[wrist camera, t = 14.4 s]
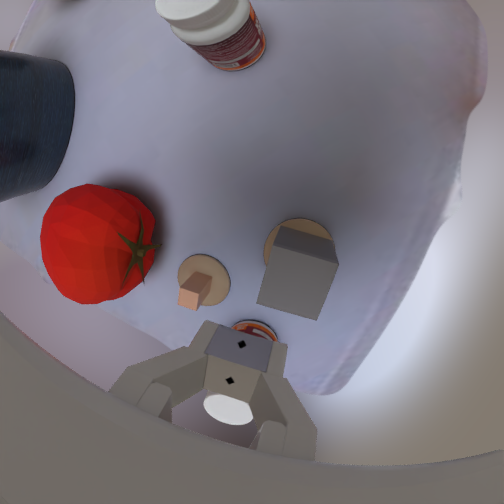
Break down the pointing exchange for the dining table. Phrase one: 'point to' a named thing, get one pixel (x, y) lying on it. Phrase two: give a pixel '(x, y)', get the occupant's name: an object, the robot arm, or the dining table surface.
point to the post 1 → (202, 282)
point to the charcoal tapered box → (298, 273)
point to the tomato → (97, 243)
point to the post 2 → (295, 224)
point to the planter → (32, 121)
